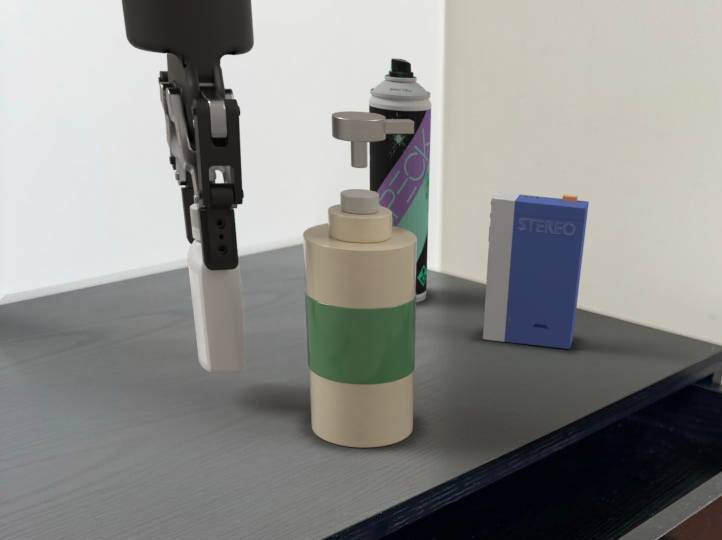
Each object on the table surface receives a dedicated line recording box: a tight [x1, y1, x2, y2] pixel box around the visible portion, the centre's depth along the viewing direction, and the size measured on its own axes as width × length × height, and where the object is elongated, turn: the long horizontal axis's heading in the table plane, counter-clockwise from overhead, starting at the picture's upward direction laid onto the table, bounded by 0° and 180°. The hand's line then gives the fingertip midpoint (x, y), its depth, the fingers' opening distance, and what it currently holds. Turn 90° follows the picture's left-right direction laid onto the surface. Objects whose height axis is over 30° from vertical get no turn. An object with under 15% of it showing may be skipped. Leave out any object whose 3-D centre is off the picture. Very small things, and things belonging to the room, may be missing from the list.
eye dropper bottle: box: [187, 203, 248, 374], centre depth 67 cm, size 4×6×12 cm
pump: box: [331, 110, 414, 169], centre depth 59 cm, size 5×3×3 cm, turn 113°
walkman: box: [482, 192, 590, 350], centre depth 83 cm, size 8×3×12 cm, turn 79°
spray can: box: [368, 58, 432, 303], centre depth 89 cm, size 6×6×20 cm
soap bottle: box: [302, 188, 417, 449], centre depth 65 cm, size 7×7×16 cm
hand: (212, 255), depth 67 cm, fingers closed on eye dropper bottle, 5 cm apart
